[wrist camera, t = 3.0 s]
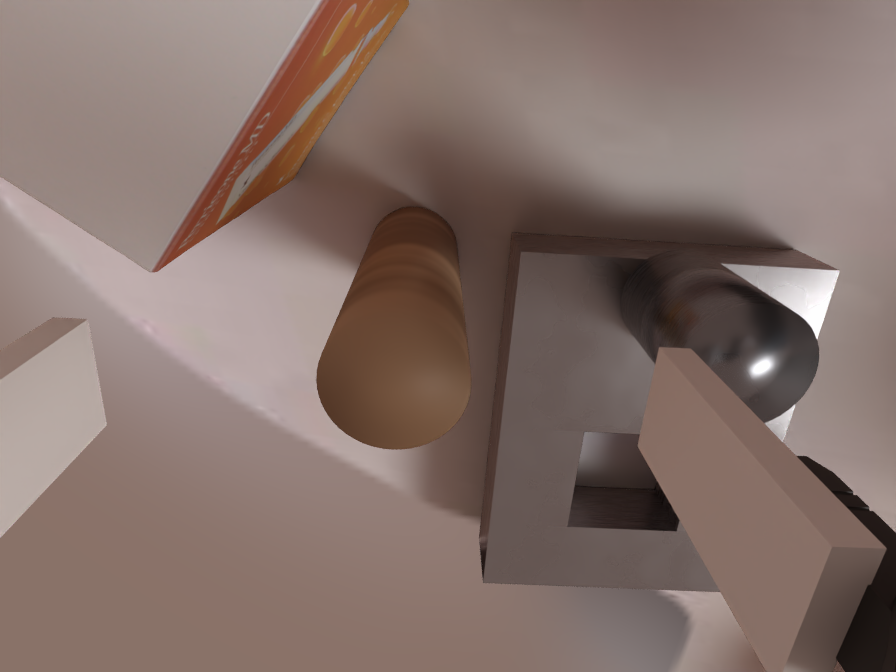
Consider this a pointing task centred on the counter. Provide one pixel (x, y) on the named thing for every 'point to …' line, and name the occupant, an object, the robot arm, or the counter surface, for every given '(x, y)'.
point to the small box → (172, 106)
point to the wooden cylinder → (400, 338)
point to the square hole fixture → (627, 392)
